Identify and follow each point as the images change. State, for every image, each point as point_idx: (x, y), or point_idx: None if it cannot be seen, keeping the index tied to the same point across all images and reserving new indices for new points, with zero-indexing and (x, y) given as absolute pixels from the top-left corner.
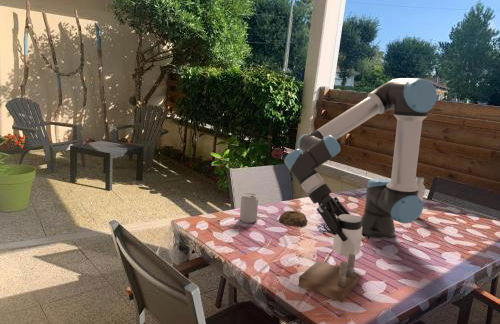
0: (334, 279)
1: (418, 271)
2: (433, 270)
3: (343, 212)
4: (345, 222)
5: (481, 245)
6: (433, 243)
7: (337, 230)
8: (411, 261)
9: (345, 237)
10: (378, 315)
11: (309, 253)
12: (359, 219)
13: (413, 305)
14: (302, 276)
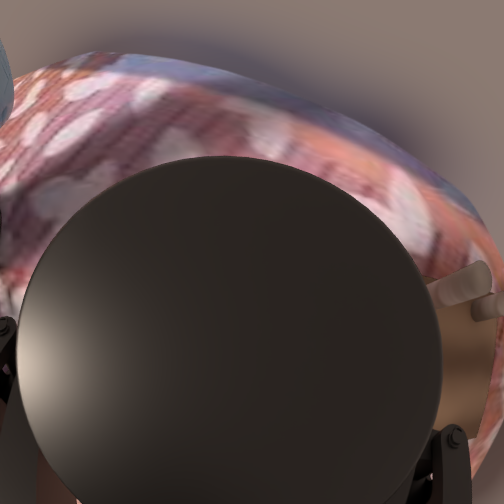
0: (461, 342)
1: (182, 117)
2: (163, 95)
3: (13, 462)
4: (434, 411)
5: (46, 74)
6: (29, 123)
7: (459, 431)
8: (121, 136)
9: None
10: (471, 215)
11: None
12: (194, 190)
13: (388, 140)
14: (473, 431)
